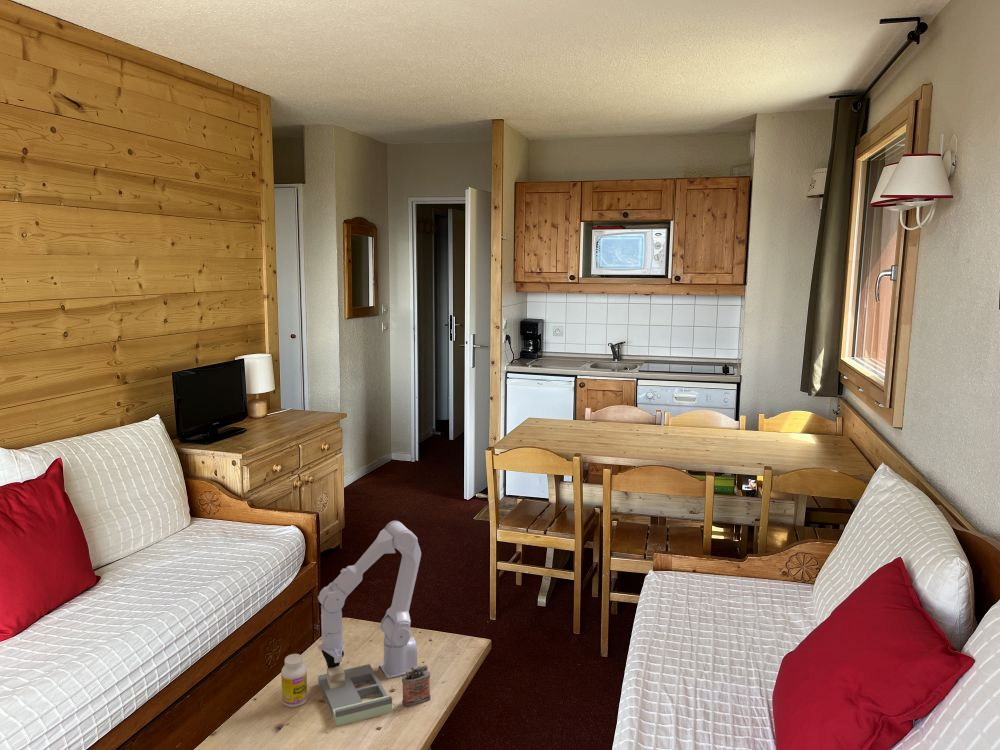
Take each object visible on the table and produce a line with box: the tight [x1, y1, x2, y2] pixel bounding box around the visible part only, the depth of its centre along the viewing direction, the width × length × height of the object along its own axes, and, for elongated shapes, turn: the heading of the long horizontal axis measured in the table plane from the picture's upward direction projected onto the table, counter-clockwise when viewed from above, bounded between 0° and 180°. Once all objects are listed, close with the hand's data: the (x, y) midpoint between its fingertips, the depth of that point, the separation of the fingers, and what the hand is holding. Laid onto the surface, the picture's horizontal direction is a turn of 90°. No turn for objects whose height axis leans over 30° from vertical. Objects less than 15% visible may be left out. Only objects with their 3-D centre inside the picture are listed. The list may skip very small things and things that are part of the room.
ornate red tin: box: [401, 664, 432, 708], centre depth 206 cm, size 8×3×10 cm, turn 117°
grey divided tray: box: [317, 663, 393, 727], centre depth 209 cm, size 15×22×4 cm
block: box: [326, 664, 345, 689], centre depth 211 cm, size 4×4×4 cm
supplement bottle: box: [280, 653, 308, 708], centre depth 206 cm, size 7×7×13 cm
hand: (333, 674), depth 214 cm, fingers closed
